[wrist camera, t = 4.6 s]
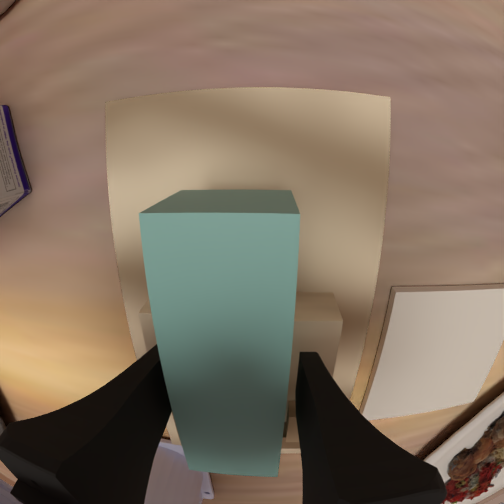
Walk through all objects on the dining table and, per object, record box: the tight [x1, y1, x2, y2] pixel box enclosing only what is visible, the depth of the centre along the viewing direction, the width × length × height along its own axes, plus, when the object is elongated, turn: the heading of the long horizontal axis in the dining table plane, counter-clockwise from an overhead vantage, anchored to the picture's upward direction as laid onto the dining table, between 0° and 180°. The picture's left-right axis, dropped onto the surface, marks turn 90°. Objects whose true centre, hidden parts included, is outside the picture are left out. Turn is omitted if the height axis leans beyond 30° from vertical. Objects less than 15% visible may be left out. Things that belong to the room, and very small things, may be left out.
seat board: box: [105, 87, 390, 453], centre depth 13 cm, size 18×12×4 cm, turn 0°
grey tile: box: [359, 284, 504, 420], centre depth 15 cm, size 9×9×1 cm
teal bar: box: [139, 190, 300, 477], centre depth 10 cm, size 10×4×4 cm, turn 0°
